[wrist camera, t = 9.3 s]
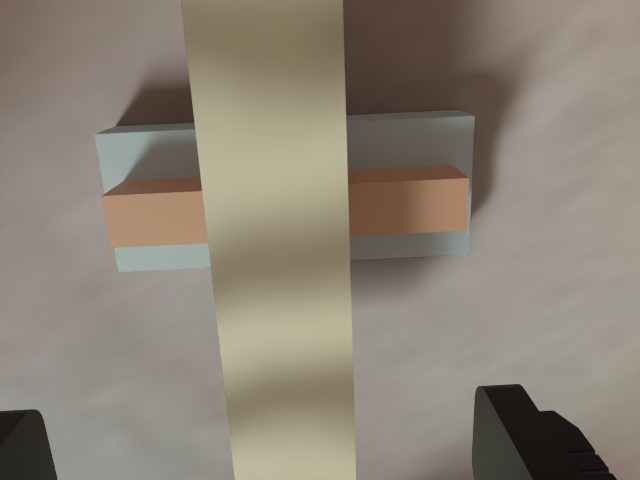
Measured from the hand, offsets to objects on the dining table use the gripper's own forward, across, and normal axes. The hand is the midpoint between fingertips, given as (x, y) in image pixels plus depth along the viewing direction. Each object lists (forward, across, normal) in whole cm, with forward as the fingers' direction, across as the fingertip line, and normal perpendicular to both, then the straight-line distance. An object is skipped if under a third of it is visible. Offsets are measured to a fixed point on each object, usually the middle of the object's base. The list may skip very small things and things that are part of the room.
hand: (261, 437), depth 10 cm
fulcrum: (+21, 0, 0) cm, 21 cm away
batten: (+15, 0, 0) cm, 15 cm away
